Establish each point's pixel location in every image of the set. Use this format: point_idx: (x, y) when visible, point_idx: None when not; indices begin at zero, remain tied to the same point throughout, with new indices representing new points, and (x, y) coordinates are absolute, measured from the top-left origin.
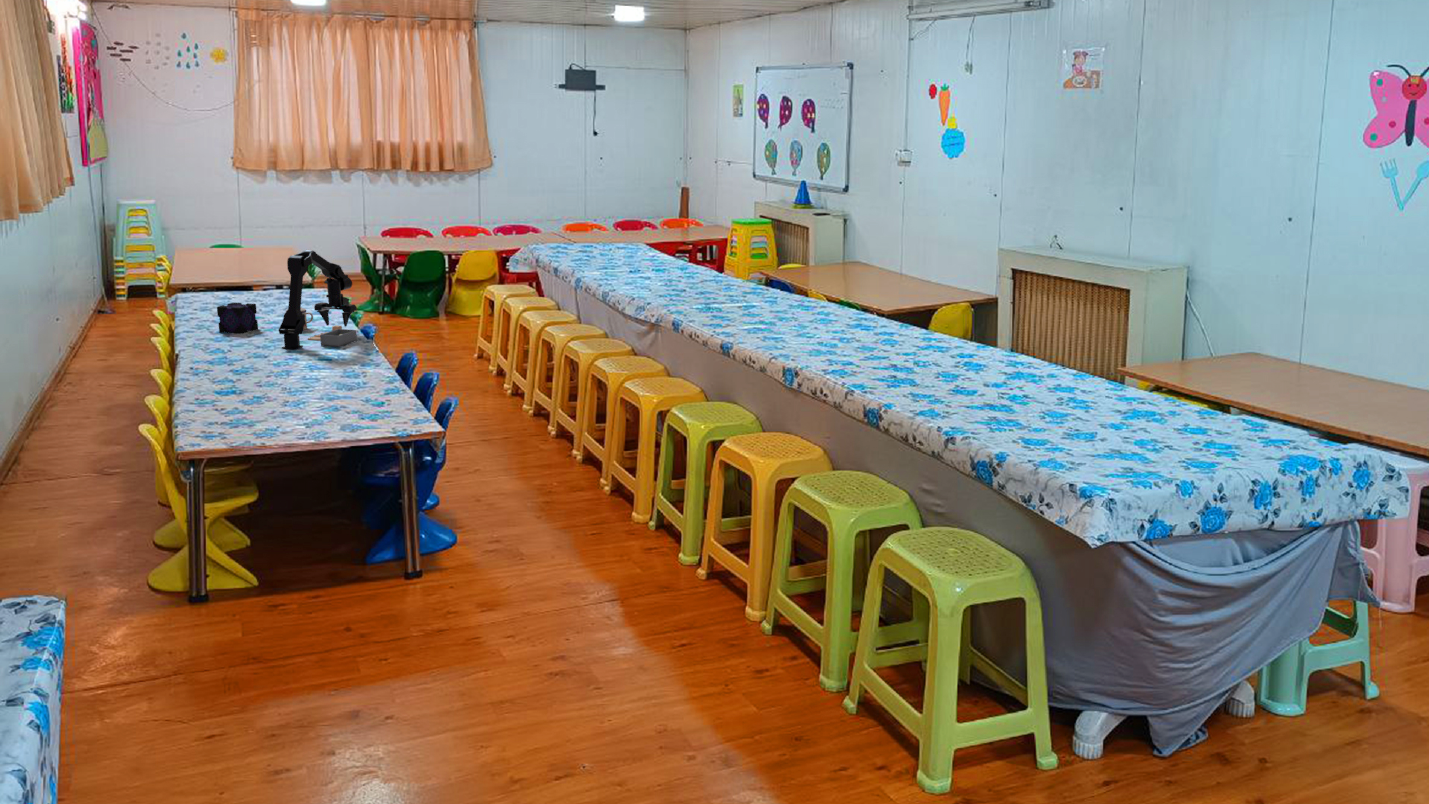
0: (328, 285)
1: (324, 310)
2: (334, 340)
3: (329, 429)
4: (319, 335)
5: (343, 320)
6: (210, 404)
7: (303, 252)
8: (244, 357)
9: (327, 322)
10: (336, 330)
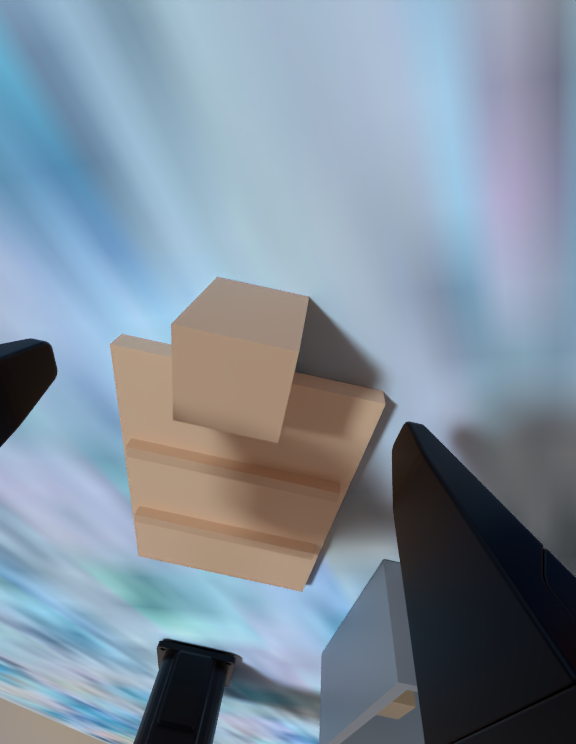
0: None
1: None
2: (418, 728)
3: None
4: (181, 526)
5: (412, 603)
6: None
7: None
8: (134, 709)
9: (16, 408)
10: (390, 696)
